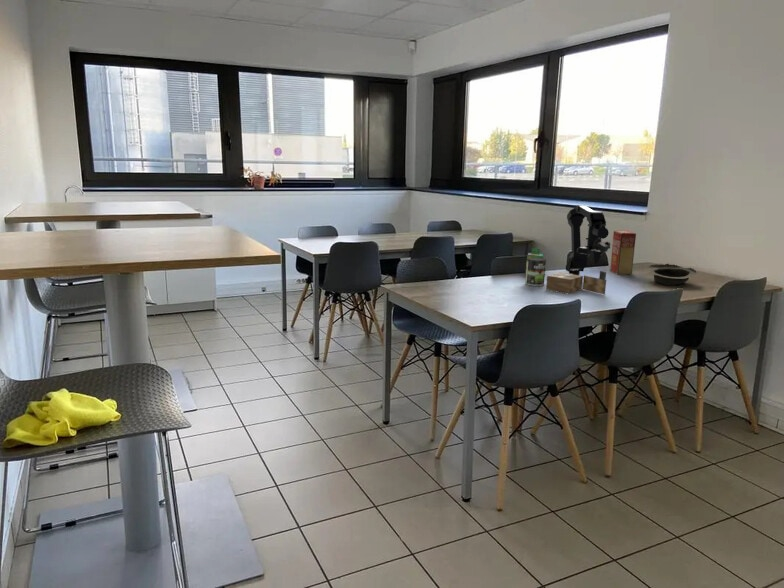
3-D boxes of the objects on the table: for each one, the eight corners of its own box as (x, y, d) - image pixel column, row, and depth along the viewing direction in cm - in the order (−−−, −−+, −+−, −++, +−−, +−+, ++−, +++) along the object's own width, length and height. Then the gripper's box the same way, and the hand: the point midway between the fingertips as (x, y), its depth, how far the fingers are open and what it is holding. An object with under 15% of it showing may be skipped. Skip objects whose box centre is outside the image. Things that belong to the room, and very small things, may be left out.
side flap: (582, 289, 302) (584, 268, 300) (583, 289, 303) (585, 267, 300) (604, 294, 291) (606, 272, 289) (605, 294, 292) (607, 272, 289)
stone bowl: (675, 277, 336) (678, 262, 334) (703, 290, 313) (707, 274, 310) (637, 277, 333) (639, 262, 330) (662, 290, 309) (665, 274, 306)
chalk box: (525, 274, 342) (527, 249, 338) (526, 271, 351) (528, 247, 347) (541, 275, 339) (543, 250, 336) (542, 272, 348) (543, 248, 344)
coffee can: (547, 285, 312) (549, 260, 308) (530, 286, 309) (532, 260, 306) (538, 281, 321) (540, 256, 318) (521, 282, 319) (523, 257, 315)
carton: (558, 285, 312) (560, 272, 310) (581, 289, 303) (583, 275, 301) (545, 289, 302) (547, 275, 300) (569, 294, 293) (570, 279, 291)
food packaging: (609, 270, 356) (613, 230, 350) (624, 270, 356) (628, 230, 350) (617, 274, 343) (621, 233, 337) (632, 274, 343) (637, 233, 337)
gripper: (596, 239, 285) (593, 269, 289) (618, 236, 296) (614, 266, 300) (577, 236, 294) (574, 266, 297) (599, 234, 305) (596, 262, 308)
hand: (590, 265), depth 300 cm, fingers open, 9 cm apart
